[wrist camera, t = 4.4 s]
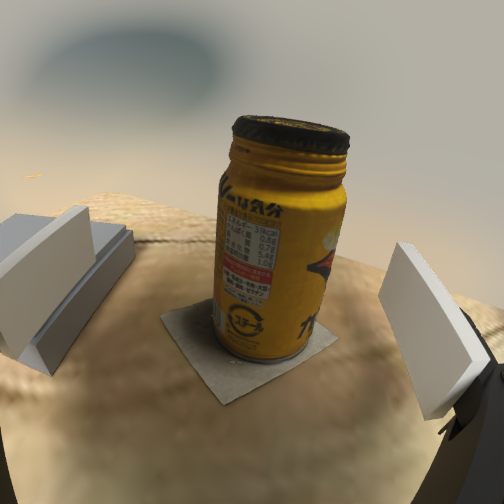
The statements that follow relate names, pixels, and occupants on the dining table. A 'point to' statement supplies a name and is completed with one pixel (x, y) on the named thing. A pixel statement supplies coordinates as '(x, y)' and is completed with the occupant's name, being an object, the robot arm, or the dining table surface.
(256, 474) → the dining table surface
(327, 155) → the condiment
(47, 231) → the robot arm
